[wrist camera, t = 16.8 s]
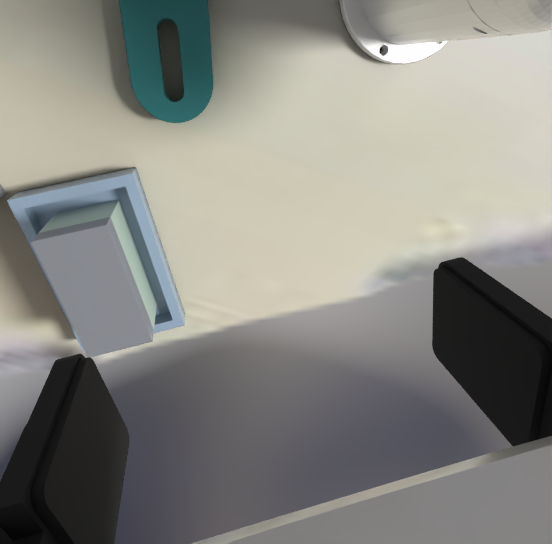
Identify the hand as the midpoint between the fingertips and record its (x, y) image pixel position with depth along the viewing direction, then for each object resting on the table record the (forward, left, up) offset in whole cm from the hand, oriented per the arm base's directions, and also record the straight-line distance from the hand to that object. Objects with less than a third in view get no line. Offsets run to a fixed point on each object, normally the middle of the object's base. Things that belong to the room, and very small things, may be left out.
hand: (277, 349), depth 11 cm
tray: (+13, +9, -32) cm, 36 cm away
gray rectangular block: (+13, +9, -32) cm, 35 cm away
